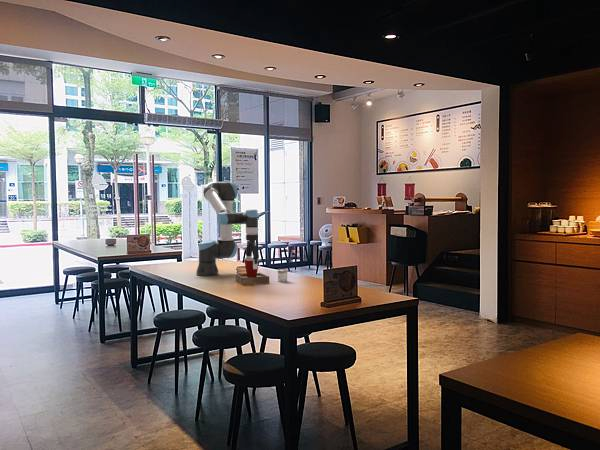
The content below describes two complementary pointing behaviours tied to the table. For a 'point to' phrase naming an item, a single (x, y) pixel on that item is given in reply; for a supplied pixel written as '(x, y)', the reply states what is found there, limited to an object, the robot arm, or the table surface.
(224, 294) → the table surface
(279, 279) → the ceramic sugar jar
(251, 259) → the plastic cup
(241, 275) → the walnut riser
